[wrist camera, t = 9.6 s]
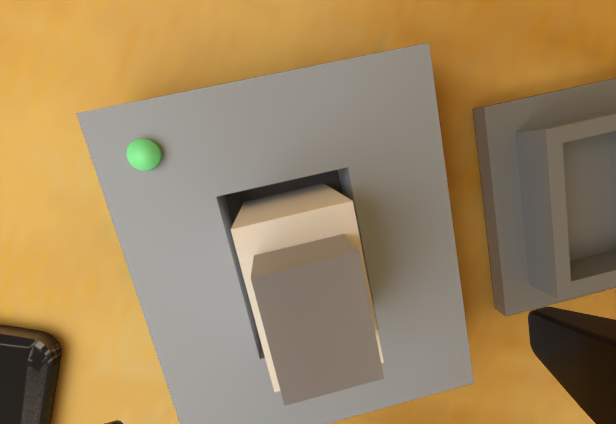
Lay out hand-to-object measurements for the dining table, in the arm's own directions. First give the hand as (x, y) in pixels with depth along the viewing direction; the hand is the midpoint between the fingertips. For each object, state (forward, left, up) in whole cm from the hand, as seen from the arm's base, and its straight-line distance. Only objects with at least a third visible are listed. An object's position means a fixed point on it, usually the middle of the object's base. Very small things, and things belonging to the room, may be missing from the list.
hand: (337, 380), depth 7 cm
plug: (0, 0, -10) cm, 10 cm away
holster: (-1, -16, -12) cm, 20 cm away
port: (0, 0, -12) cm, 12 cm away
